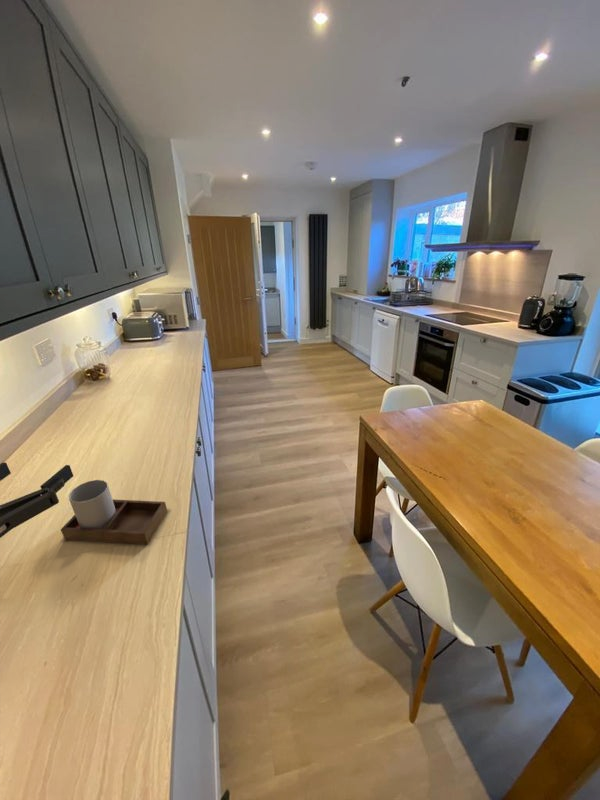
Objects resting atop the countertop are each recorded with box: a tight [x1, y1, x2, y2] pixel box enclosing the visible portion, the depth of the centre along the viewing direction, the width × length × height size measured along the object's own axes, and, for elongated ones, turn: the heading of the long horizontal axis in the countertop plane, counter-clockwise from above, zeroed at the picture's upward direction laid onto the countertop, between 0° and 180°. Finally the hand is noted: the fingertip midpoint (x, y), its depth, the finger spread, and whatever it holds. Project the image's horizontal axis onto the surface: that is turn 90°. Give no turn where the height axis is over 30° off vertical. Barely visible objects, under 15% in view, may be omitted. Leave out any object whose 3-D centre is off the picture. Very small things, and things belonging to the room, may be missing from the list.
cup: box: [68, 479, 116, 529], centre depth 82 cm, size 8×8×10 cm
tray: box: [60, 498, 168, 545], centre depth 84 cm, size 21×11×4 cm, turn 86°
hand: (38, 469), depth 66 cm, fingers open, 13 cm apart
